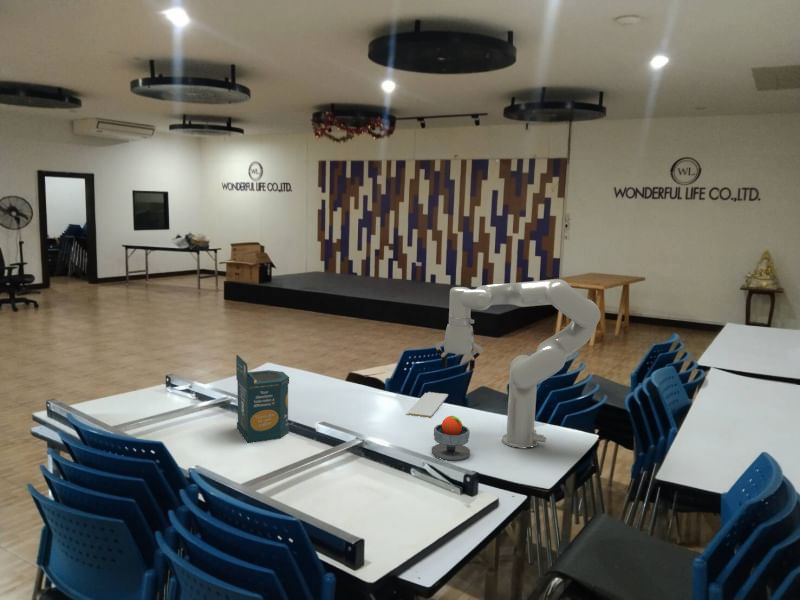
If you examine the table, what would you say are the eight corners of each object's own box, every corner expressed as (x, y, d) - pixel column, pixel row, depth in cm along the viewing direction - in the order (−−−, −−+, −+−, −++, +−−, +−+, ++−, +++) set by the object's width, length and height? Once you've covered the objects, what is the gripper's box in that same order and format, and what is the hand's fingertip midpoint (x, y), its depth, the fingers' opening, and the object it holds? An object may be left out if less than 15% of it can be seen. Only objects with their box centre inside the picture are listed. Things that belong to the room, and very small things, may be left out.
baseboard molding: (401, 415, 246) (430, 419, 243) (402, 408, 246) (431, 412, 242) (422, 394, 275) (448, 397, 272) (422, 388, 275) (448, 391, 272)
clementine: (468, 437, 206) (469, 416, 205) (456, 442, 201) (457, 421, 200) (449, 431, 212) (450, 411, 211) (436, 435, 206) (437, 415, 206)
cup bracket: (474, 450, 211) (475, 426, 210) (463, 464, 199) (464, 439, 198) (438, 443, 216) (439, 420, 215) (426, 456, 204) (426, 432, 203)
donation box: (236, 428, 225) (236, 354, 221) (279, 422, 233) (279, 350, 229) (247, 443, 211) (246, 364, 207) (292, 436, 219) (292, 360, 215)
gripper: (485, 322, 218) (483, 368, 221) (438, 318, 224) (437, 364, 226) (481, 325, 211) (479, 373, 214) (433, 321, 217) (432, 369, 219)
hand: (458, 368), depth 220 cm, fingers open, 9 cm apart
